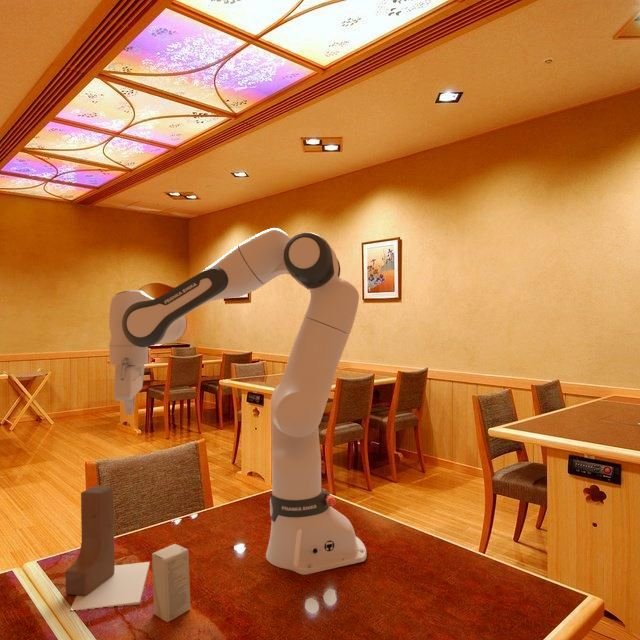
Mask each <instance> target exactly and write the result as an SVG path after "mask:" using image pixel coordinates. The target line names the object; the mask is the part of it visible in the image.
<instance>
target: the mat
mask: <svg viewBox="0 0 640 640" xmlns="http://www.w3.org/2000/svg"><path fill="white" fill-rule="evenodd" d="M150 562H151V561H144V562H134V563H126V564H116V565H114V574H113V575H112V576H111V577H110V578H108V579H107V580H106V581H104V582H103V583H102V584H100V585H99V586H98V587H96V588H95V589H94V590H93V591H91V592H90V593H89V594H87V595H86V596H79V595H75V598H74V601H73V602H72V605H71V606H70V608H72V609H73V610H76V611H75V612H77V611H79V610H80V611H88V610H87V609H90V610H96V609H95V608H99V609H104V608H103V607H108V608H114V606H118V607H124V605H125V607H126V605H127V606H136V605H140V604H141V600H142V596H143V593H144V588H145V584H146V580H147V576H148V573H149V569H150V565H151V563H150Z"/></svg>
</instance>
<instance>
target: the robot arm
mask: <svg viewBox="0 0 640 640" xmlns="http://www.w3.org/2000/svg"><path fill="white" fill-rule="evenodd" d="M285 274H287V275H290V276H291V277H292V278H293V279H294V280H295V281H296V283H298V284H299V285H301V286H302V287H304V288H305V289H307V290H309V293H310V301H309V304H308V307H307V310H306V311H305V314H304V317H303V320H302V322H301V324H300V327H299V329H298V332H297V335H296V337H295V340H294V342H293V344H292V347H291V350H290V354H289V356H288V359H287V362H286V366H285V367H284V371H283V374H282V377H281V379H280V383H279V384H278V385H276V387H275V388H274V389H273V391H272V394H271V396H270V433H271V434H270V436H271V439H270V440H271V441H270V442H271V443H270V444H271V484H272V485H271V492H270V497H269V498H270V499H269V515H270V519H271V525H270V535H269V541H268V545H267V549H266V553H265V559H266V560H267V562H269V563H270V564H271V565H273V566H275V567H277V568H281V569H285V570H289V571H292V572H295V573H296V574H300V575H303V576H304V575H305V576H306V575H310V574H314V573H319V572H323V571H326V570H327V571H328V570H332V569H336V568H337V569H338V568H340V567H345V566H349V565H355V564H357V563H362V562H363V563H364V562H365V561H366V559H367V556H368V555H367V548H366V546H365V544H364V543H363V541H362V539H360V538H359V537H358V536H356V532H355V529H354V527H353V525H352V523H351V521H350V520H349V519H348V518H347V516H345V514H342V513H341V512H339V511H338V510H337V509H335V508H334V506H335V505H336V504H337V503H336V502H337V501H336V499H335V497H334V496H333V495H331V494H330V492H328V491H327V490H326V489H325V488H322V458H321V457H322V456H321V447H320V446H321V445H320V435H319V433H320V431H319V426H320V424H321V421H322V419H323V415H324V412H325V409H326V406H327V403H328V399H329V396H330V393H331V390H332V387H333V383H334V379H335V375H336V372H337V368H338V366H339V363H340V362H341V361H340V360H341V358H342V355H343V354H344V353H343V352H344V350H345V347H346V345H347V342H348V340H349V337H350V334H351V331H352V329H353V326H354V323H355V321H356V315H357V313H358V312H357V311H358V308H359V307H358V306H359V301H360V295H359V294H360V293H359V291H358V289H357V288H356V287H355V286H354V285H353V284H352V283H351V282H349V281H347V280H345V279H343V278H341V277H340V275H341V265H340V261H339V259H338V257H337V255H336V253H335V251H334V248H333V247H332V246H331V245H330V244H329V243H328V242H327V240H326V239H325V238H324V237H322V236H321V235H319V234H316V233H314V232H309V231H308V232H301V233H298V234H295V235H294V236H292V238H291V237H290V235H289V234H287V232H285V231H284V230H282V229H280V228H277V227H272V228H269V229H266V230H263V231H261V232H259V233H257V234H255V235H253V236H250V237H249V238H248V239H246V240H244V241H243V242H241V243H240V244H238V245H236V246H235V247H233V248H232V249H231V250H229V251H228V252H226V253H225V254H223V256H221V257H220V258H219V259H217V260H216V261H214V262H213V263H212V264H210V265H209V266H207V267H206V268H204V269H203V270H202V271H200V272H199V273H198V274H195V275H194V276H192V277H190V278H188V279H187V280H185V281H183V282H182V283H180V284H179V285H177V286H175V287H173V288H172V289H170V290H169V291H166V292H165V293H163V294H161V295H160V296H158V297H157V298H153V297H152V296H150V295H148V294H147V293H146V292H145V291H144V290H140V289H139V290H138V289H132V290H125V291H120V292H118V293H116V294H114V295H113V296H112V298H111V300H110V305H109V315H108V316H109V318H108V320H109V321H108V325H109V326H108V327H109V328H108V329H109V331H110V341H109V345H108V346H109V347H108V348H109V350H108V351H109V365H110V366H114V368H115V369H114V370H115V371H114V383H113V384H114V391H113V393H114V394H113V395H114V400H115V401H119V402H121V401H122V402H123V406H124V414H125V415H126V416H129V415H131V416H132V415H133V414H134V412H135V403H136V395H137V394H138V393H139V392H140V391H142V390H143V385H144V378H145V377H144V376H145V365H147V364H149V347H151V346H155V345H164V344H170V343H173V342H176V341H177V340H179V339H181V338H182V337H183V335H185V333H186V330H187V327H188V325H187V323H188V321H187V317H186V315H188V314H190V313H191V312H192V311H194V310H196V309H198V308H199V307H201V306H203V305H205V304H207V303H210V302H212V301H217V300H222V299H223V300H224V299H230V298H231V299H232V298H239V297H240V298H241V297H242V296H245V295H247V294H249V293H252V292H254V291H256V290H258V289H259V288H261V287H263V286H264V285H266V284H268V283H269V282H271V281H272V280H273V279H275V278H276V277H279V276H280V275H285Z"/></svg>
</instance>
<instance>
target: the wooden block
mask: <svg viewBox="0 0 640 640" xmlns="http://www.w3.org/2000/svg"><path fill="white" fill-rule="evenodd" d="M114 505H115V504H114V487H113V486H102V485H95V486H92V487H90V488H88V489H85V490H83V491H82V492H81V493H80V516H81V521H80V523H81V525H80V526H81V529H80V530H81V543H80V549H79V550H80V551H79V554H78V556H77V558H76V560H75V562H74V563H72V565H71V566H69V567H68V568H67V569H66V570H65V573H64V574H65V577H64V578H65V594H66V595H71V596H72V595H74V596H77V595H79V596H86V595H87V594H89V593H90V592H91V591H93V590H94V589H95V588H96V587H98V586H99V585H100V584H102V583H103V582H104V581H106V580H107V579H108V578H110V577H111V576H112V575H113V574H114V566H115V529H114V528H115V524H114V523H115V518H114V516H115V515H114V514H115V513H114V512H115V511H114Z"/></svg>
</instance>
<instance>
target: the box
mask: <svg viewBox="0 0 640 640" xmlns="http://www.w3.org/2000/svg"><path fill="white" fill-rule="evenodd" d="M189 555H190V554H189V549H188V548H186V547H183V546H182V545H179V544H176V543H173V544H171V545H168V546H166V547H164V548H162V549H161V548H160V549H158V550H156V551H155V552H152V554H151V560H152V561H151V565H152V566H151V567H152V590H153V591H152V592H153V593H152V595H153V599H152V600H153V601H152V602H153V614H154V615H155V616H156V617H158V618H159V619H161V620H162V621H164V622H166V623H169V622H171V621H172V620H175V619H176V618H178V617H179V616H181V615H183V614H185V613H186V612H188V611H189V610H190V609H191V594H190V593H191V590H190V588H191V587H190V586H191V585H190V564H189V561H190V559H189V558H190V556H189Z"/></svg>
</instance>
